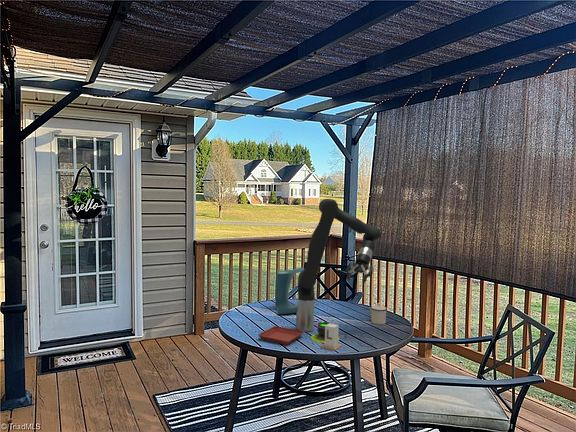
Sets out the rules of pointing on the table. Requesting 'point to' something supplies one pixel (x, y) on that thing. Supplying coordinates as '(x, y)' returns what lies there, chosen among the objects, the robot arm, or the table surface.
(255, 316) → the table surface
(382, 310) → the teacup with lid
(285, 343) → the plant saucer
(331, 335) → the plain off-white block
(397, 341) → the table surface
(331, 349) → the coaster
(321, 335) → the toy cauldron
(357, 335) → the table surface
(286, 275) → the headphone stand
